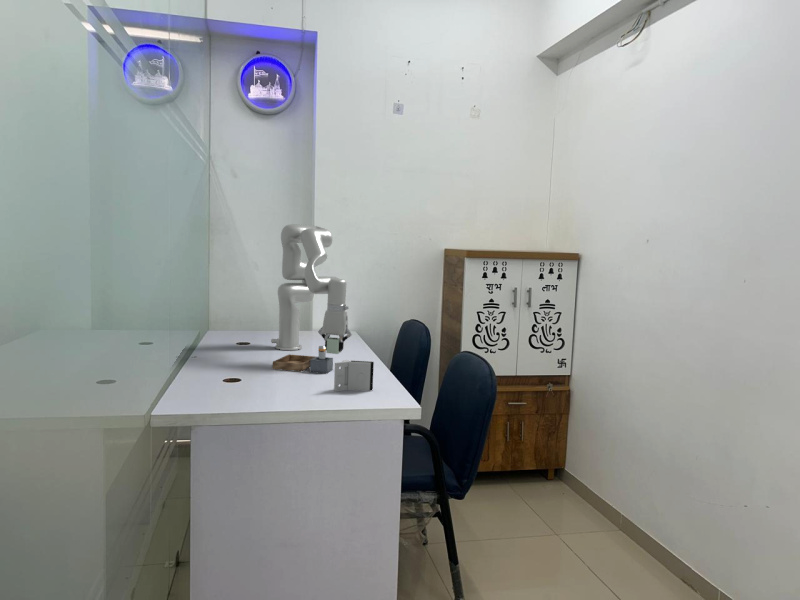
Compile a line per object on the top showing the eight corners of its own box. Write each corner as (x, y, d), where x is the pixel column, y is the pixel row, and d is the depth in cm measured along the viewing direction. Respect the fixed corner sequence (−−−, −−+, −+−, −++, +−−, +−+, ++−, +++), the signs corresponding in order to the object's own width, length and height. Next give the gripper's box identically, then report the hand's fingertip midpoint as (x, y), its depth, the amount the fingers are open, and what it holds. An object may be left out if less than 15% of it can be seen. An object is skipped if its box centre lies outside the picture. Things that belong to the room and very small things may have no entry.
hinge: (334, 391, 196) (334, 363, 195) (332, 387, 201) (333, 360, 201) (373, 391, 199) (374, 363, 198) (371, 387, 204) (372, 360, 203)
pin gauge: (316, 371, 226) (317, 346, 225) (319, 370, 228) (320, 345, 227) (323, 372, 225) (324, 347, 224) (326, 370, 228) (326, 346, 227)
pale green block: (326, 352, 238) (327, 338, 238) (330, 350, 243) (330, 336, 243) (337, 354, 238) (338, 339, 237) (341, 351, 242) (342, 337, 242)
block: (310, 372, 224) (310, 359, 223) (316, 368, 231) (316, 356, 230) (327, 373, 223) (327, 361, 222) (332, 370, 229) (333, 357, 229)
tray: (272, 369, 227) (272, 361, 226) (288, 361, 243) (288, 354, 243) (302, 371, 224) (302, 364, 224) (316, 363, 240) (316, 356, 240)
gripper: (358, 308, 240) (355, 350, 242) (320, 305, 243) (317, 346, 246) (353, 311, 233) (350, 354, 235) (313, 307, 236) (311, 350, 238)
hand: (334, 349), depth 240 cm, fingers closed on pale green block, 5 cm apart
